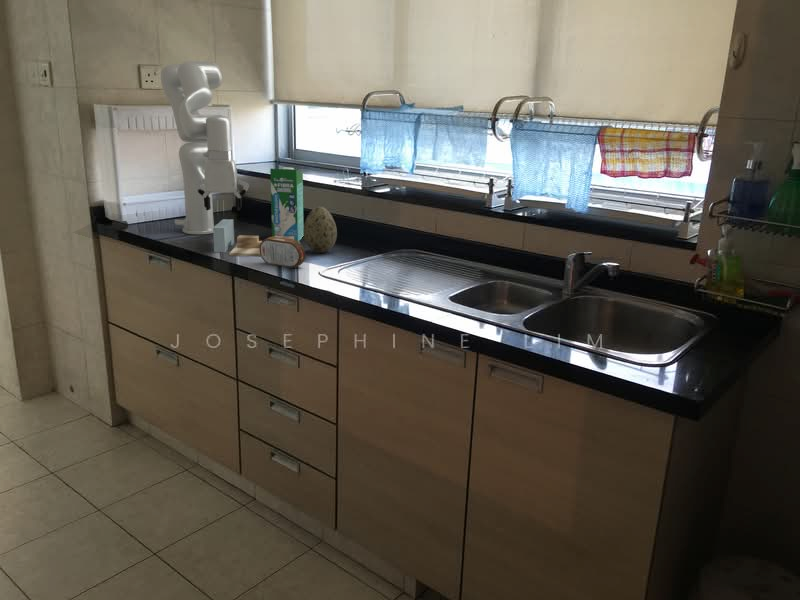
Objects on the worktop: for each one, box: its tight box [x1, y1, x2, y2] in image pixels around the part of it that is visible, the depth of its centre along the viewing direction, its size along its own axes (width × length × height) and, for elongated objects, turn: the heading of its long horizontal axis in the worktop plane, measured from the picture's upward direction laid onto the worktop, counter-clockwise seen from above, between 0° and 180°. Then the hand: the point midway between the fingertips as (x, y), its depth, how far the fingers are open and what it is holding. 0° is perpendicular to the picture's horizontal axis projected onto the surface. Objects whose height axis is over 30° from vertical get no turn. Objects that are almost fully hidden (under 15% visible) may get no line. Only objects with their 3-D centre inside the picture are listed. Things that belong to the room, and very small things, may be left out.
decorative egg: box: [303, 205, 338, 254], centre depth 221 cm, size 11×11×15 cm
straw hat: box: [229, 234, 301, 257], centre depth 224 cm, size 20×18×4 cm
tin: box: [259, 236, 306, 269], centre depth 205 cm, size 15×3×8 cm, turn 65°
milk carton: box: [269, 166, 304, 242], centre depth 237 cm, size 9×9×25 cm
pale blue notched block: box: [212, 218, 235, 253], centre depth 225 cm, size 14×4×8 cm, turn 1°
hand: (223, 209), depth 222 cm, fingers open, 9 cm apart
